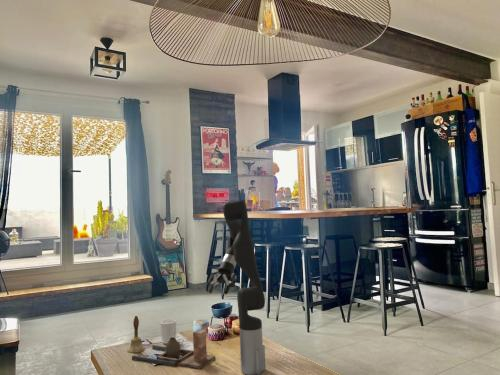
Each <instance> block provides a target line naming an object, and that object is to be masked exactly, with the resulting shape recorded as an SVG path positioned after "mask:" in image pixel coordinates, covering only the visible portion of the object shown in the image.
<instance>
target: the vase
mask: <svg viewBox="0 0 500 375" xmlns="http://www.w3.org/2000/svg"><path fill="white" fill-rule="evenodd" d="M176 338H177V337H176ZM176 338H175V337H172V338H170V340H169V342H168V343H167V344H165V347H166V348H165V351H164V352H165V354H166V356H167V357H168V358H174V359H179V357H180V356H181V354H180V352H181V349H182V347H181V344H180V342H179V341H178V340H177V339H176Z"/></svg>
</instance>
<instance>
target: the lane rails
mask: <svg viewBox="0 0 500 375" xmlns="http://www.w3.org/2000/svg"><path fill="white" fill-rule="evenodd" d="M151 347H152V348H151V350H158V351H164V352H165V348H166V346H163V345H156V344H153V345H152V346H151ZM131 360H134V361H138V362H139V361H140V362H145V363H151V364H156V363H157V364H158V365H162V366H170V367H175V368H176V367H177V365H176V362H173V361H166V360H160V359H157V358H153V357H152V358H151V357H147V356H142V355H141V356H140V355H135V354H133V355H131Z"/></svg>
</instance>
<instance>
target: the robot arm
mask: <svg viewBox="0 0 500 375" xmlns="http://www.w3.org/2000/svg"><path fill="white" fill-rule="evenodd" d="M222 205H223V206H222V212H223V217H224V220H225V224H226V226H227V227H228V231H229V235H228V237H227V247H226V251H225V254H224V256H223V257H222V259H221V262H220V265H219V268H218V270H217V273H216V274H215V273H213V272H212V273H210V276H209V277H208V280H207V282H206V283H207V285H208V286H209V287H208V289H207V291H208V294H212V293H213V290H214V287H215V286H217V285H219V284H226V285H225V287H224V291H223V293H224V295H228V293H229V292H230V289H231V288H235V286H236V284H237V283H236V282H237V280H238V276H237V275H236V273H234V271H235V269H236V266H238V267H239V268H240V269H241V270H242V272H243V273H245V275H246V277H248V279H249V281H250V283H251V287H249V286H248V287H240V288H239V289H238V290H237V293H236V294H237V296H236V297H237V298H236V299H237V301H236V302H237V308H238V310H237V312H238V323H239V325H238V326H239V348H240V350H239V351H240V370H241V373H242V374H243V375H262V373H263V372H264V371H265V370H266V367H267V366H266V350H265V349H266V347H265V345H264V344H263V343H264V342H263V341H264V340H263V322H262V320H261V318H259V317H256V316H252V315H250V314H249V312H250V311H258V310H262V309H264V308H265V306H266V299H265V298H266V297H265V293H264V288H263V286H262V282H261V277H260V275H259V270H258V265H257V259H256V258H257V257H256V252H255V248H254V247H255V246H254V243H253V238H252V235H251V229H250V223H249V215H248V209H247V207H248V206H247V203H246V202H245V200H243V199H237V200H231V201H226V202H224V203H223V204H222ZM240 220H241V222H240ZM248 311H249V312H248Z"/></svg>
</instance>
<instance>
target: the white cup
mask: <svg viewBox="0 0 500 375" xmlns="http://www.w3.org/2000/svg"><path fill="white" fill-rule="evenodd" d="M160 335H161V336H160V337H161V342H162V344H165V345H167V343H168V342H169V340H170V338H172V337H175V338H177V336H176V335H177V320H176V319H164V320H161V321H160Z"/></svg>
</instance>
